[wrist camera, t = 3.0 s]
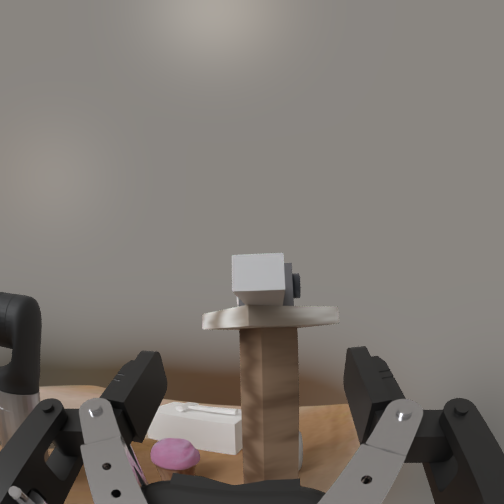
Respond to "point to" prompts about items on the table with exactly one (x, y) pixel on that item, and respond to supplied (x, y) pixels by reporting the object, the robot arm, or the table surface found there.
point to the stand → (269, 382)
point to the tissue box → (199, 426)
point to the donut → (300, 451)
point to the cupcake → (174, 457)
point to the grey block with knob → (264, 280)
